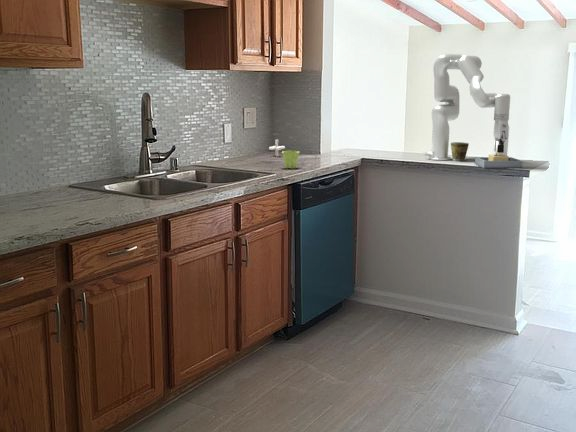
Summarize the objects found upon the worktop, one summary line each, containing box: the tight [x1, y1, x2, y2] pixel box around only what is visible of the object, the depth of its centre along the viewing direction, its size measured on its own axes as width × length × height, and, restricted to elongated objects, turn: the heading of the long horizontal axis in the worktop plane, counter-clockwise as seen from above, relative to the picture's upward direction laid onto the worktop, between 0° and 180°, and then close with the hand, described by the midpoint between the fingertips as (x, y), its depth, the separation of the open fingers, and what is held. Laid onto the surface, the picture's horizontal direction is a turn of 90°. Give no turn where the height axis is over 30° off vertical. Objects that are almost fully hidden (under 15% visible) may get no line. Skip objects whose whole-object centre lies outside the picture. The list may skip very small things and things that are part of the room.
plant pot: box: [281, 150, 300, 169], centre depth 331 cm, size 9×9×9 cm
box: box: [474, 154, 523, 170], centre depth 335 cm, size 20×16×6 cm
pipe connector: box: [268, 139, 286, 157], centre depth 379 cm, size 10×10×10 cm
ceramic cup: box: [450, 141, 470, 162], centre depth 358 cm, size 13×10×10 cm
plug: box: [495, 139, 502, 156], centre depth 334 cm, size 4×4×9 cm
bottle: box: [492, 124, 510, 156], centre depth 350 cm, size 8×8×30 cm
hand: (499, 151), depth 334 cm, fingers closed on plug, 3 cm apart
